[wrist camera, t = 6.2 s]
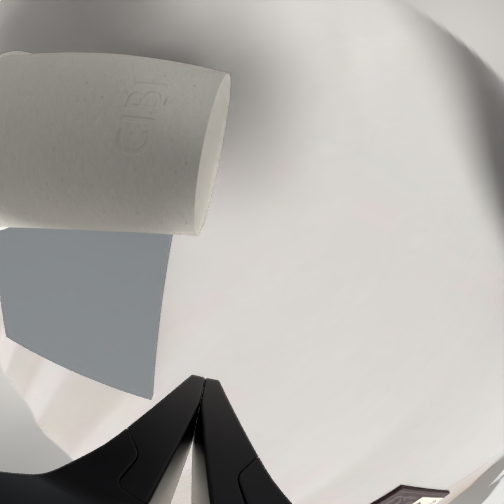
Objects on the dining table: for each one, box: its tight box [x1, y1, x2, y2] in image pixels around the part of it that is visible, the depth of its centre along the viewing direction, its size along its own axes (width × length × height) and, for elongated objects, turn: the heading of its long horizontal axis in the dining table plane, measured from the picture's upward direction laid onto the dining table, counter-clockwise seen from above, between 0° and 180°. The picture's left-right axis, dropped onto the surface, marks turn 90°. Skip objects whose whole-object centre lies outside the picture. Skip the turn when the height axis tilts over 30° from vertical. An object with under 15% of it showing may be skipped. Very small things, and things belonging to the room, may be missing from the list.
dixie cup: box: [0, 51, 231, 236], centre depth 9 cm, size 8×8×10 cm
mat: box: [0, 227, 173, 400], centre depth 14 cm, size 13×16×1 cm
